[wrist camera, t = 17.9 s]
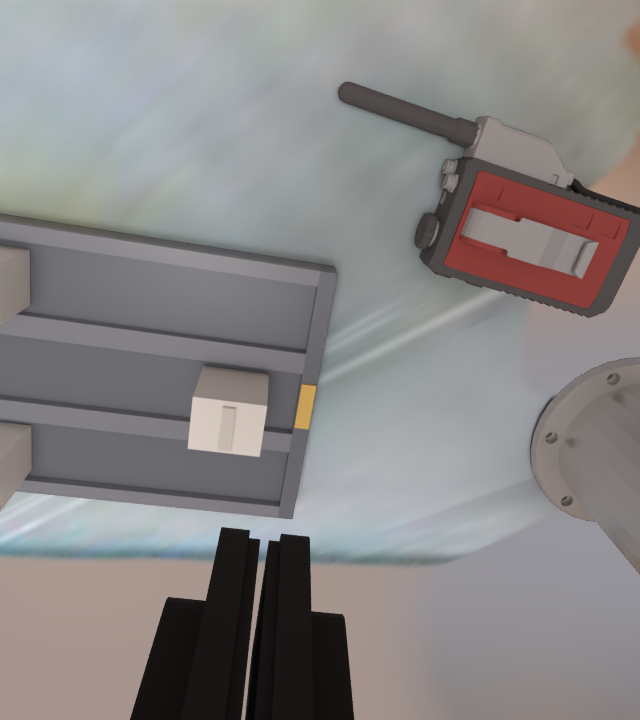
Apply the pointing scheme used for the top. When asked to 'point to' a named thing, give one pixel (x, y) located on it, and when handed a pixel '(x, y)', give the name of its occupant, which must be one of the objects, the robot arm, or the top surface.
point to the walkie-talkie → (516, 214)
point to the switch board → (157, 365)
